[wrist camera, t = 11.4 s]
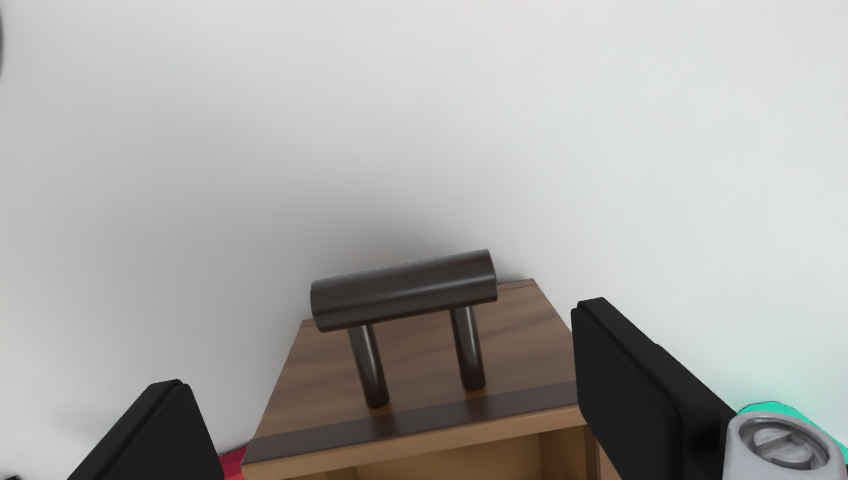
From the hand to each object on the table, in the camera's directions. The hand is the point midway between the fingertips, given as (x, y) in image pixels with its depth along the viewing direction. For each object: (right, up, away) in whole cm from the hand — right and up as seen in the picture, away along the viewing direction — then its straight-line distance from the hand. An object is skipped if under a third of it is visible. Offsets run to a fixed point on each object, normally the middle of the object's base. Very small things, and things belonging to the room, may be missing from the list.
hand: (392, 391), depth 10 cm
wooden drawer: (+1, -4, +14) cm, 15 cm away
